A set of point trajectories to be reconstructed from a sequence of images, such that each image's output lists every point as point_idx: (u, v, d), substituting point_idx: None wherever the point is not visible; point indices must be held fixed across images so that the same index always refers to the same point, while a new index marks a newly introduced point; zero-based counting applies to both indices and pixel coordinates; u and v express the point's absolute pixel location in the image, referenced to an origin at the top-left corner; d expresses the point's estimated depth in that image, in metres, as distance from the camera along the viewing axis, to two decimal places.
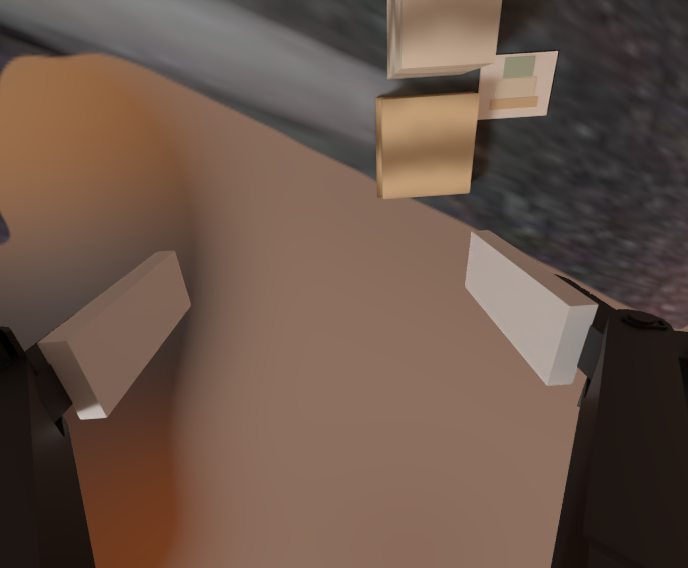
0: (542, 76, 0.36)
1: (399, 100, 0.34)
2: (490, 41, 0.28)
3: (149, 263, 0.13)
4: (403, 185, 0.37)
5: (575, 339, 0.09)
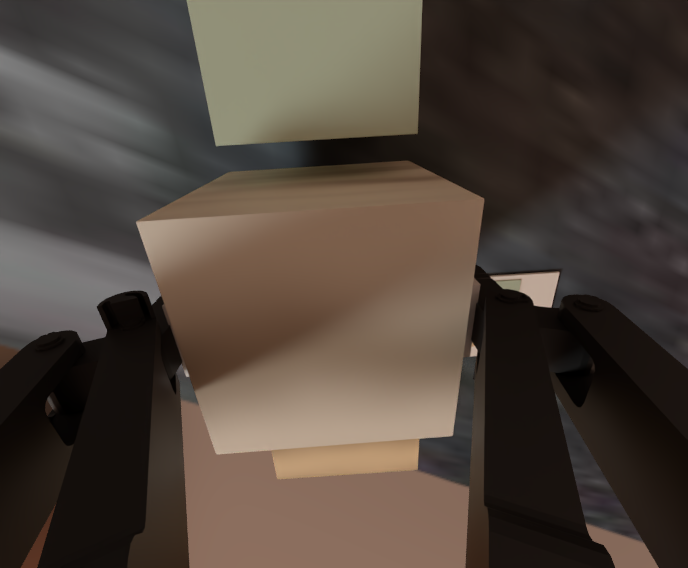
0: None
1: None
2: (438, 404, 0.11)
3: None
4: (308, 464, 0.23)
5: None
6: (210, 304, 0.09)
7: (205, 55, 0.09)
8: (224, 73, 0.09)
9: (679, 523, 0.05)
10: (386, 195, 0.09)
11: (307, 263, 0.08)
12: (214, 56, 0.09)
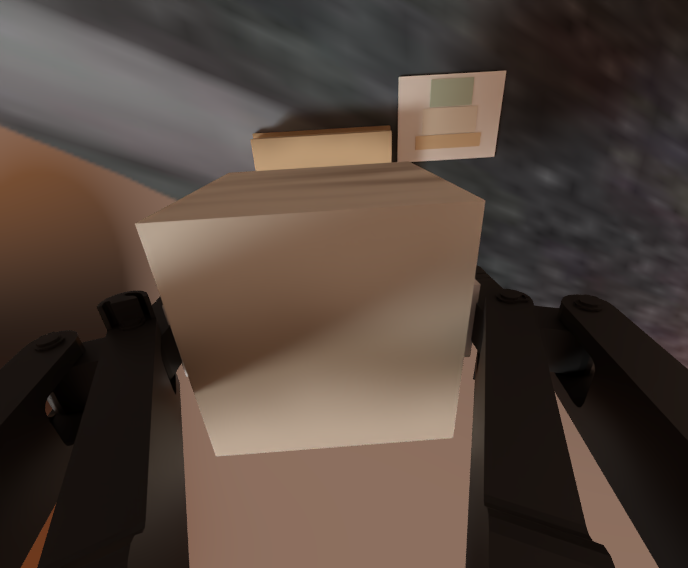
0: (486, 105, 0.25)
1: (275, 140, 0.23)
2: (439, 406, 0.10)
3: None
4: None
5: None
6: (210, 306, 0.09)
7: None
8: None
9: (679, 523, 0.05)
10: (386, 197, 0.08)
11: (307, 266, 0.08)
12: None
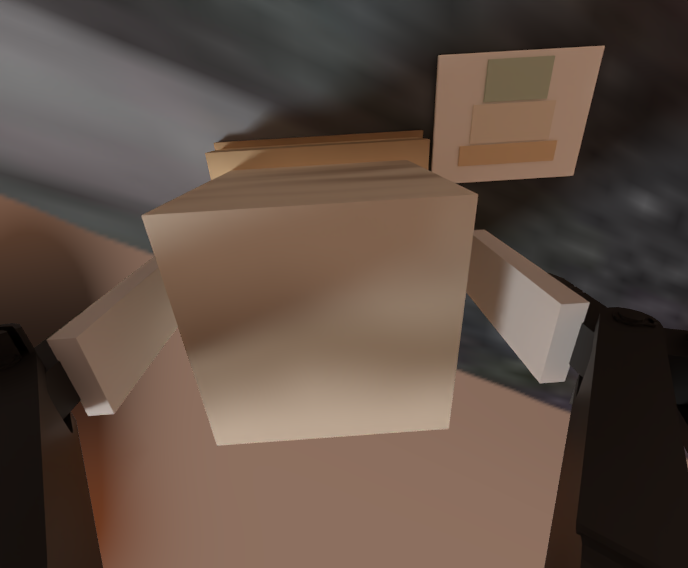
0: (568, 99, 0.17)
1: (245, 154, 0.15)
2: (435, 397, 0.11)
3: (154, 262, 0.13)
4: None
5: (567, 337, 0.09)
6: (212, 296, 0.09)
7: None
8: None
9: None
10: (383, 191, 0.09)
11: (306, 257, 0.08)
12: None
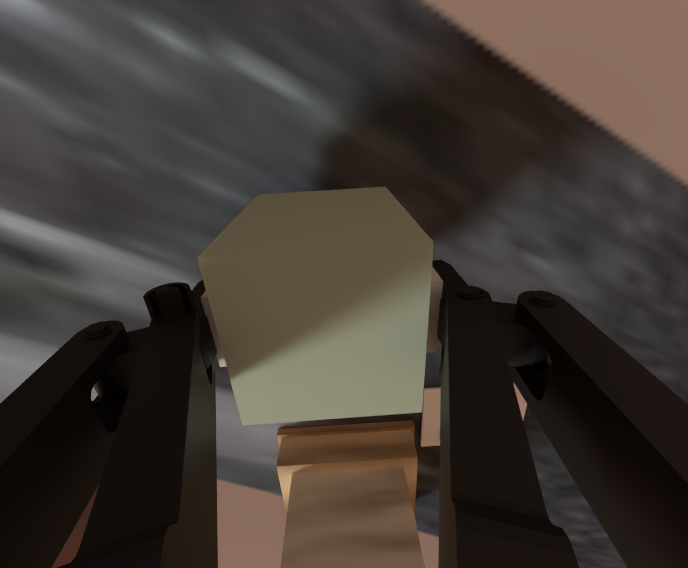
0: None
1: (301, 466, 0.23)
2: None
3: None
4: None
5: (430, 311, 0.11)
6: None
7: (235, 373, 0.10)
8: (251, 382, 0.10)
9: (634, 508, 0.05)
10: None
11: None
12: (243, 373, 0.10)
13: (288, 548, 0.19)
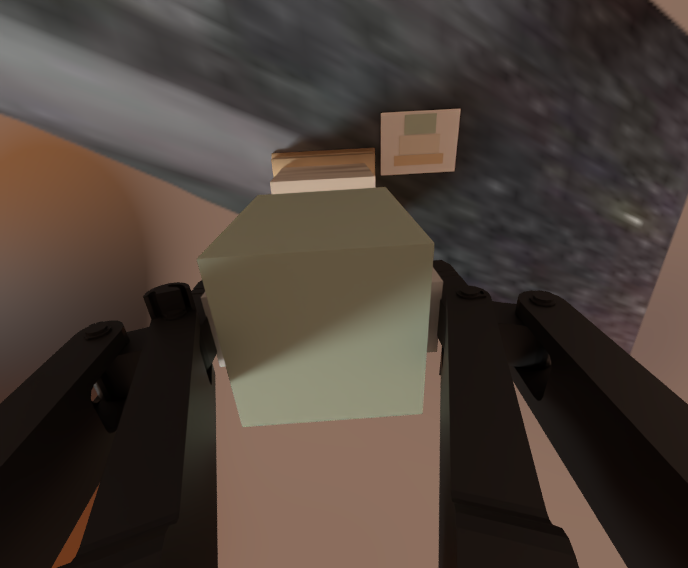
0: (446, 133, 0.34)
1: (289, 160, 0.32)
2: None
3: None
4: None
5: (430, 311, 0.11)
6: None
7: (234, 374, 0.10)
8: (251, 384, 0.10)
9: (634, 509, 0.05)
10: (346, 175, 0.26)
11: None
12: (242, 374, 0.10)
13: (279, 175, 0.28)
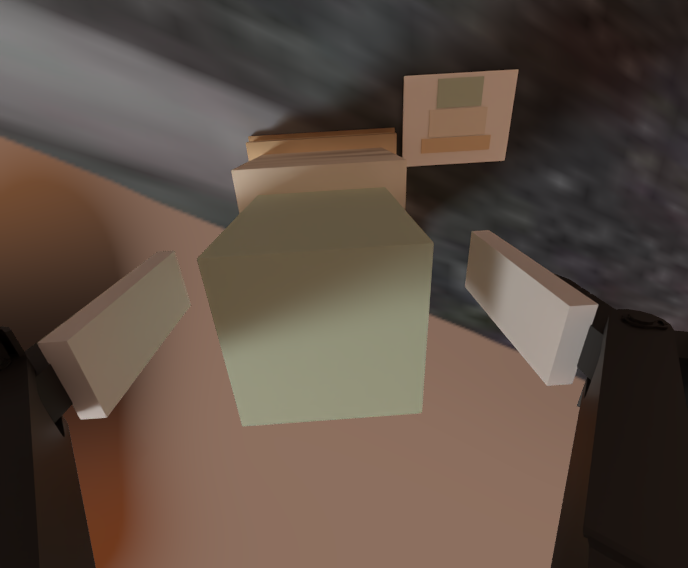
0: (496, 106, 0.24)
1: (272, 143, 0.22)
2: None
3: (148, 263, 0.13)
4: None
5: (575, 339, 0.09)
6: None
7: (234, 374, 0.10)
8: (251, 383, 0.10)
9: None
10: (358, 160, 0.16)
11: None
12: (242, 374, 0.10)
13: (253, 161, 0.18)
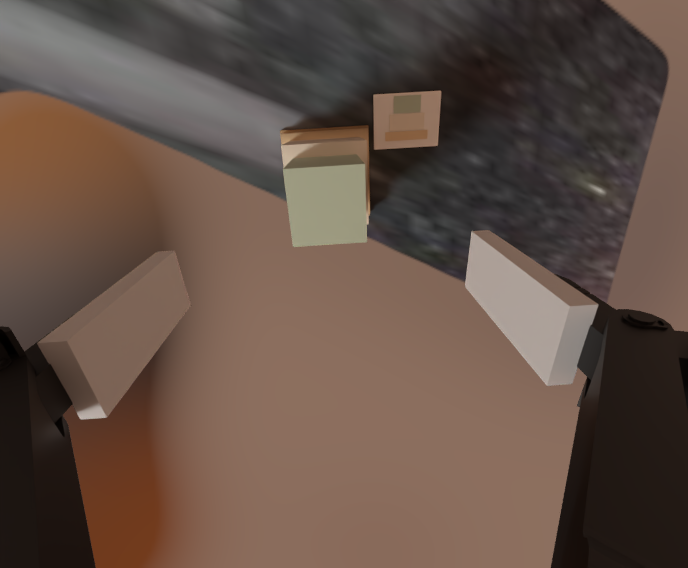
0: (429, 112, 0.40)
1: (296, 134, 0.38)
2: None
3: (149, 263, 0.13)
4: None
5: (575, 339, 0.09)
6: None
7: (292, 219, 0.26)
8: (298, 224, 0.26)
9: None
10: None
11: None
12: (295, 219, 0.26)
13: (288, 143, 0.34)
